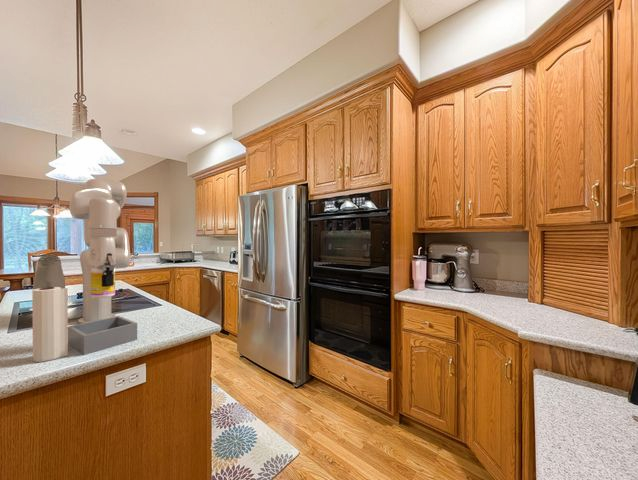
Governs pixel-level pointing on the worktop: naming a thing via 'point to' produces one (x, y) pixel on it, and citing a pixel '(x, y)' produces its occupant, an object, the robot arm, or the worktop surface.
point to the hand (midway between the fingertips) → (103, 284)
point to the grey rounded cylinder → (49, 273)
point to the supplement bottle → (100, 284)
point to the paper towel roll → (50, 323)
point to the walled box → (101, 334)
